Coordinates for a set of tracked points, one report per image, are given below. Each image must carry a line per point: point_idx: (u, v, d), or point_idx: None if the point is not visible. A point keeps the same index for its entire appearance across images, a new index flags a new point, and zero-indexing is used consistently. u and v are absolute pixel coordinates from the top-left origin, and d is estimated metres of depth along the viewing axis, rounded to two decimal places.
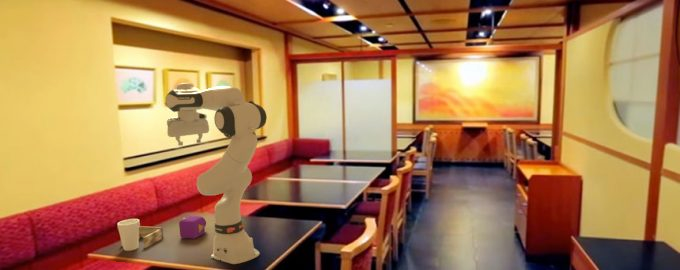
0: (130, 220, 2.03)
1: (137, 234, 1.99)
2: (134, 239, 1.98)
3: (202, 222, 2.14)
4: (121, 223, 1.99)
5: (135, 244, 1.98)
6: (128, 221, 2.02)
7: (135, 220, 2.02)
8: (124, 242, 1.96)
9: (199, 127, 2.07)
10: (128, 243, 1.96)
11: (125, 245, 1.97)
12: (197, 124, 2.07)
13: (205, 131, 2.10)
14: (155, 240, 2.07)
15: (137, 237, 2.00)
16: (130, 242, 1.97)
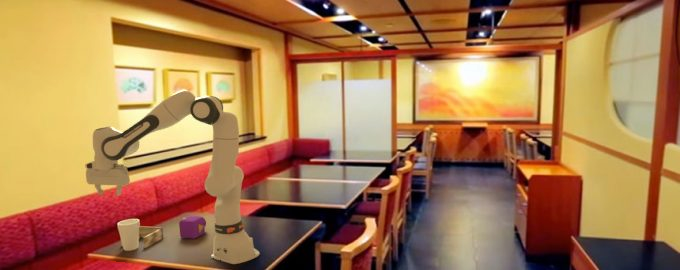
0: (130, 220, 2.03)
1: (137, 234, 1.99)
2: (134, 239, 1.98)
3: (202, 222, 2.14)
4: (120, 223, 1.99)
5: (135, 244, 1.98)
6: (128, 221, 2.02)
7: (135, 220, 2.02)
8: (124, 242, 1.96)
9: None
10: (128, 243, 1.96)
11: (125, 245, 1.97)
12: None
13: None
14: (155, 240, 2.07)
15: (137, 237, 2.00)
16: (130, 242, 1.97)
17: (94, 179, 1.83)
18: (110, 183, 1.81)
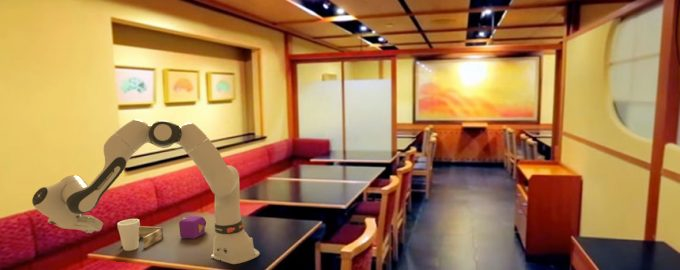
0: (130, 220, 2.03)
1: (137, 234, 1.99)
2: (134, 239, 1.98)
3: (202, 222, 2.14)
4: (121, 223, 1.99)
5: (135, 244, 1.98)
6: (128, 221, 2.02)
7: (135, 220, 2.02)
8: (124, 242, 1.96)
9: None
10: (128, 243, 1.96)
11: (125, 245, 1.97)
12: None
13: None
14: (155, 240, 2.07)
15: (137, 237, 2.00)
16: (130, 242, 1.97)
17: (66, 226, 1.73)
18: (85, 229, 1.72)
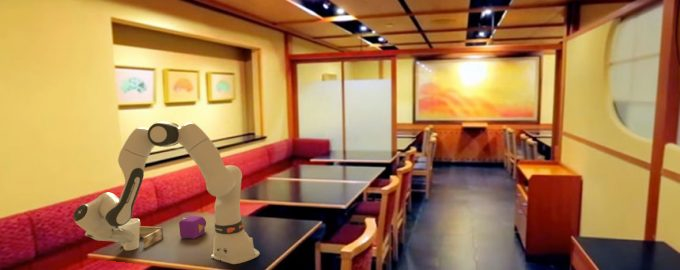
0: (130, 220, 2.03)
1: (137, 234, 1.99)
2: (134, 239, 1.98)
3: (202, 222, 2.14)
4: None
5: (135, 244, 1.99)
6: (128, 221, 2.03)
7: (135, 220, 2.03)
8: None
9: None
10: (128, 243, 1.97)
11: (125, 245, 1.97)
12: None
13: None
14: (155, 240, 2.07)
15: (138, 237, 2.00)
16: (130, 242, 1.97)
17: None
18: (118, 241, 1.89)
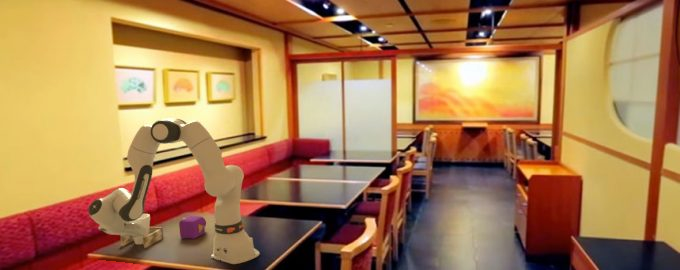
0: None
1: (147, 228, 2.06)
2: (145, 233, 2.05)
3: (202, 222, 2.14)
4: None
5: None
6: None
7: (145, 215, 2.10)
8: (136, 236, 2.04)
9: None
10: (139, 237, 2.04)
11: (136, 239, 2.04)
12: None
13: None
14: (155, 240, 2.07)
15: (148, 231, 2.07)
16: (141, 236, 2.04)
17: None
18: (130, 235, 1.96)
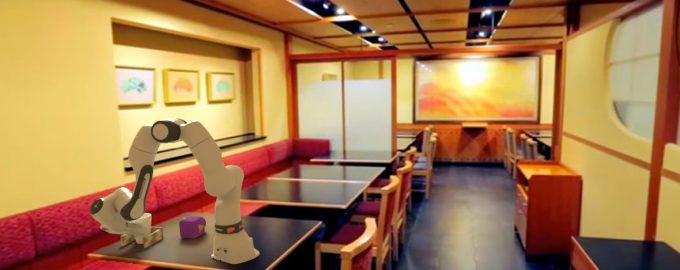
0: None
1: (149, 228, 2.07)
2: (146, 232, 2.06)
3: (202, 222, 2.14)
4: None
5: None
6: None
7: (147, 214, 2.11)
8: None
9: None
10: (141, 236, 2.05)
11: (138, 238, 2.05)
12: None
13: None
14: (155, 240, 2.07)
15: (149, 231, 2.08)
16: (143, 235, 2.05)
17: None
18: (131, 234, 1.97)
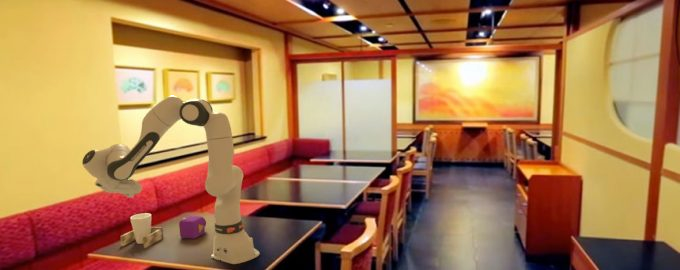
0: (142, 214, 2.11)
1: (149, 228, 2.07)
2: (146, 232, 2.06)
3: (202, 222, 2.14)
4: (133, 218, 2.08)
5: None
6: (140, 215, 2.11)
7: (147, 214, 2.11)
8: (137, 235, 2.05)
9: None
10: (141, 236, 2.05)
11: (138, 238, 2.05)
12: None
13: None
14: (155, 240, 2.07)
15: (149, 231, 2.08)
16: (143, 235, 2.05)
17: (111, 190, 1.92)
18: (126, 192, 1.90)
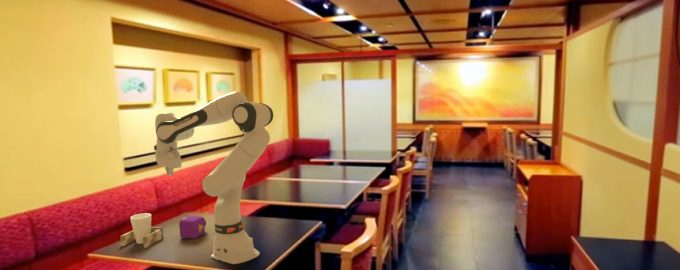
0: (142, 214, 2.11)
1: (149, 228, 2.07)
2: (146, 232, 2.06)
3: (202, 222, 2.14)
4: (133, 218, 2.08)
5: None
6: (140, 215, 2.11)
7: (147, 214, 2.11)
8: (137, 235, 2.05)
9: None
10: (141, 236, 2.05)
11: (138, 238, 2.05)
12: None
13: None
14: (155, 240, 2.07)
15: (149, 231, 2.08)
16: (143, 235, 2.05)
17: (160, 160, 2.01)
18: (167, 165, 1.95)
